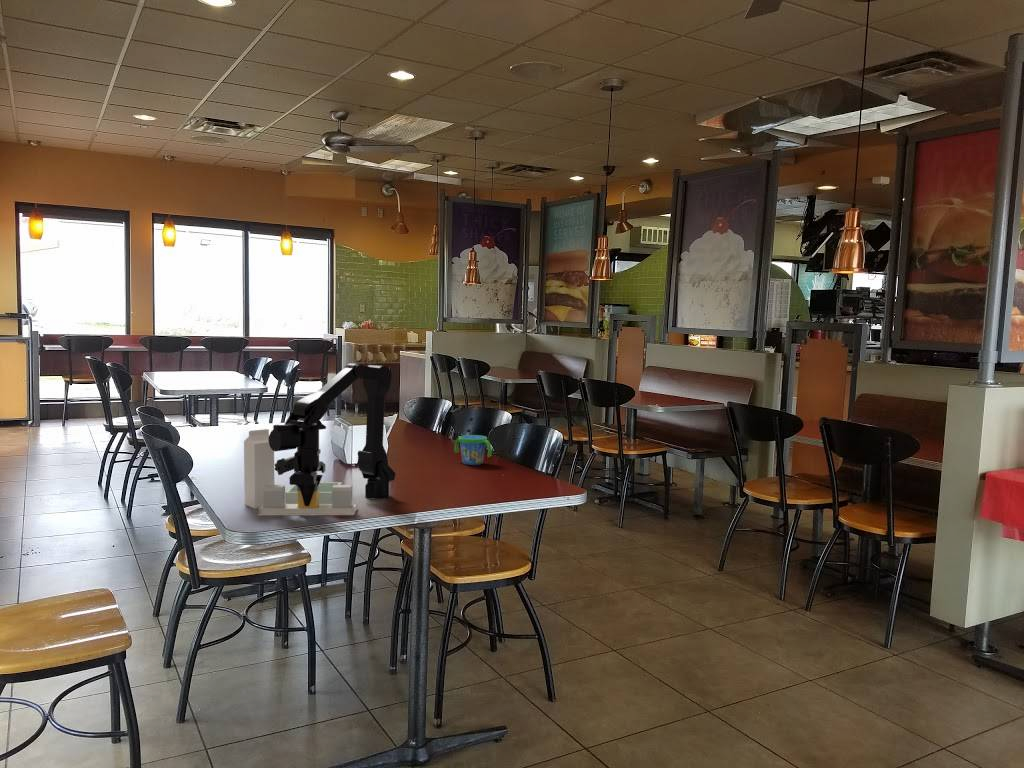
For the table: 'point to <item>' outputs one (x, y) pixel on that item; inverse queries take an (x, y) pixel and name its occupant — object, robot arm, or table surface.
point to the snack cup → (472, 448)
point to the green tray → (324, 493)
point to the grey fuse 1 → (274, 496)
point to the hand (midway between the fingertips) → (308, 504)
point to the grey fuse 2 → (342, 496)
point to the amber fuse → (314, 500)
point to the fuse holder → (307, 510)
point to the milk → (257, 466)
